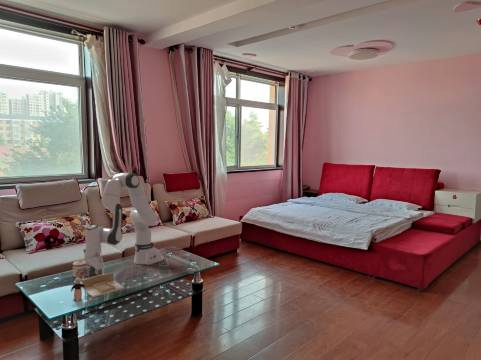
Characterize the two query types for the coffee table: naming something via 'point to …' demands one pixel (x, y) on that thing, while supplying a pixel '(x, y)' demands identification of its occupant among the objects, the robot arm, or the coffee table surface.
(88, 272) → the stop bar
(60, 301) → the coffee table surface
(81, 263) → the teacup with lid
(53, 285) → the coffee table surface
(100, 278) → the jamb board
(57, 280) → the coffee table surface
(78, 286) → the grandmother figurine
